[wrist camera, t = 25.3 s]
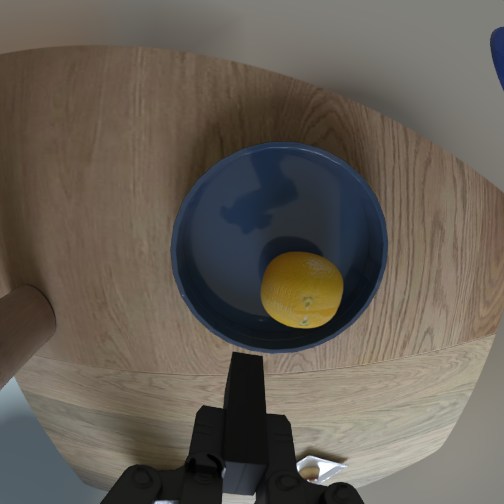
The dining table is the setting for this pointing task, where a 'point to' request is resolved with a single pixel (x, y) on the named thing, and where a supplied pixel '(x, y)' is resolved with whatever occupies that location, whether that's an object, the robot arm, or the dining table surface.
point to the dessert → (318, 469)
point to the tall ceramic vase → (23, 328)
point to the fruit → (301, 289)
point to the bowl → (275, 240)
